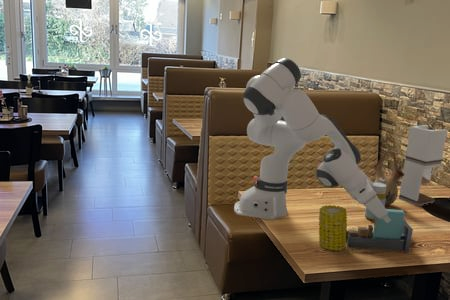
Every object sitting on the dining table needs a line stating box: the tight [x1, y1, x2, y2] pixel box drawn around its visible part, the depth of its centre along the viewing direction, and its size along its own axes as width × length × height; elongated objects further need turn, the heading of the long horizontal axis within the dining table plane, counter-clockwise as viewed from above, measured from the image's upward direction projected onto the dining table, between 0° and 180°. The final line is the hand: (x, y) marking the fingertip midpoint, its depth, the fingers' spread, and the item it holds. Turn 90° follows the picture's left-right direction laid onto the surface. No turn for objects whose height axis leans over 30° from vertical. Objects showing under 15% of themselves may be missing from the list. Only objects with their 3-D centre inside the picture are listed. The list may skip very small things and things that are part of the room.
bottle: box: [364, 181, 386, 222], centre depth 178 cm, size 7×7×15 cm
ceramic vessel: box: [372, 150, 404, 207], centre depth 194 cm, size 16×9×25 cm, turn 30°
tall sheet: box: [373, 208, 405, 239], centre depth 153 cm, size 9×2×14 cm, turn 87°
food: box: [318, 204, 348, 252], centre depth 152 cm, size 15×12×10 cm
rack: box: [346, 220, 414, 254], centre depth 154 cm, size 21×8×9 cm, turn 87°
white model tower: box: [398, 124, 448, 207], centre depth 200 cm, size 11×11×35 cm
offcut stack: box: [347, 224, 374, 240], centre depth 155 cm, size 8×2×8 cm, turn 87°
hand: (384, 215), depth 152 cm, fingers open, 8 cm apart
